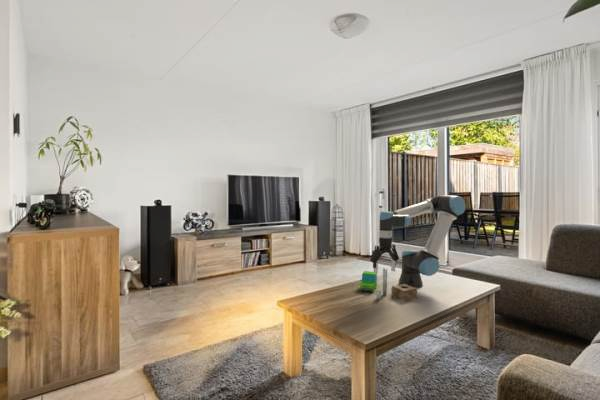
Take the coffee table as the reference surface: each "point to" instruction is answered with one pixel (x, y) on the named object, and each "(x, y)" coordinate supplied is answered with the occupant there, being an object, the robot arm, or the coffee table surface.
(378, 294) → the short pin
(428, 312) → the coffee table surface
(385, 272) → the long pin
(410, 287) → the hole block
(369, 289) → the toy car
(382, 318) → the coffee table surface
